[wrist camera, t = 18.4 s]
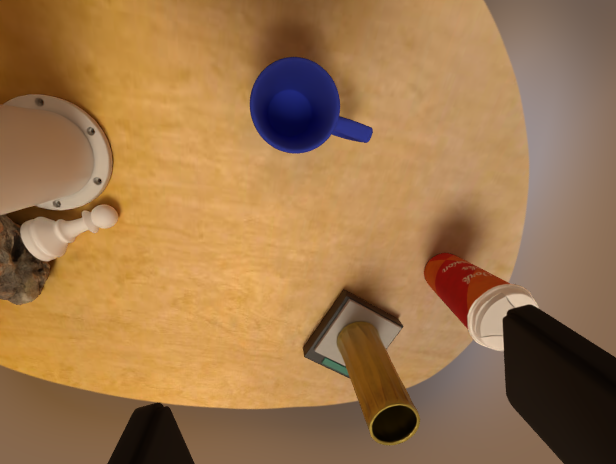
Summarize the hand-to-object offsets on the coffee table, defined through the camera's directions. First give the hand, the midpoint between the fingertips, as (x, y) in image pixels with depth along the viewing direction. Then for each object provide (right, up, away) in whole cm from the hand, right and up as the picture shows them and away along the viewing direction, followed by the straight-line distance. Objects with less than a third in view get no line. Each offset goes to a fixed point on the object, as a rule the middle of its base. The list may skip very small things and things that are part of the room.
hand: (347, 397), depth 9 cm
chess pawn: (-32, +3, +28) cm, 43 cm away
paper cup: (+18, -1, +38) cm, 43 cm away
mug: (-2, +18, +31) cm, 36 cm away
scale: (+5, -11, +40) cm, 41 cm away
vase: (+6, -11, +37) cm, 39 cm away
